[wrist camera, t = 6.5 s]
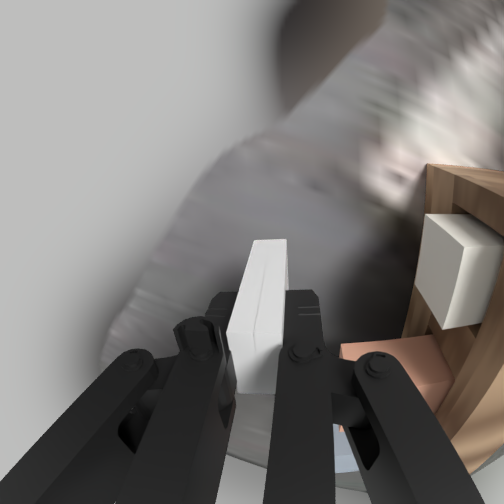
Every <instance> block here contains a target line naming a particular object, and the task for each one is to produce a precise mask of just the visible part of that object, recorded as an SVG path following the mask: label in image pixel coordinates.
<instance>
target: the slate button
mask: <svg viewBox="0 0 504 504" xmlns="http://www.w3.org/2000/svg"><path fill="white" fill-rule="evenodd" d="M333 432H334V454H335V473H342V472H352V471H359V468H358V466H357V463H356V460H355V458H354V455H353V453H352V450H351V447H350V445H349V442H348V440H347V437H346V435H345V432H339V425H337V424H333Z"/></svg>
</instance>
